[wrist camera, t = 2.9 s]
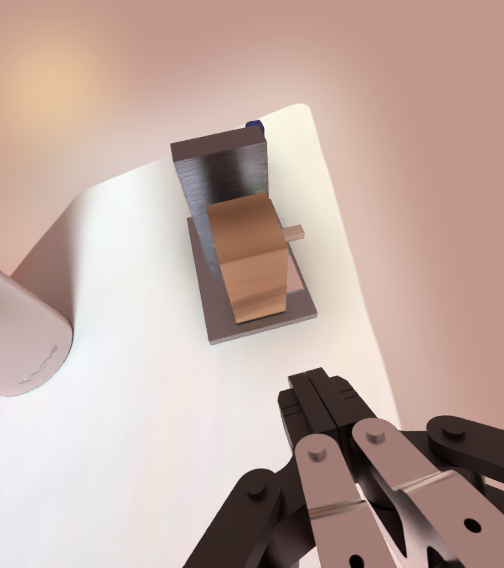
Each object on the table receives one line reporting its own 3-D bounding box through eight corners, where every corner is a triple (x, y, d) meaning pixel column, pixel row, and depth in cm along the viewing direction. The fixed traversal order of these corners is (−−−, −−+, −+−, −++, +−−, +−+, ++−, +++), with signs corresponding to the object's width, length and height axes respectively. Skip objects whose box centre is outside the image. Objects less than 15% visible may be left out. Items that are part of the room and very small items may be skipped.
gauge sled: (306, 305, 29) (318, 240, 21) (236, 323, 29) (219, 264, 20) (288, 258, 33) (291, 185, 24) (224, 274, 32) (205, 205, 24)
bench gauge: (316, 317, 30) (333, 250, 21) (210, 345, 29) (179, 289, 20) (270, 204, 39) (268, 122, 30) (188, 224, 38) (160, 145, 29)
